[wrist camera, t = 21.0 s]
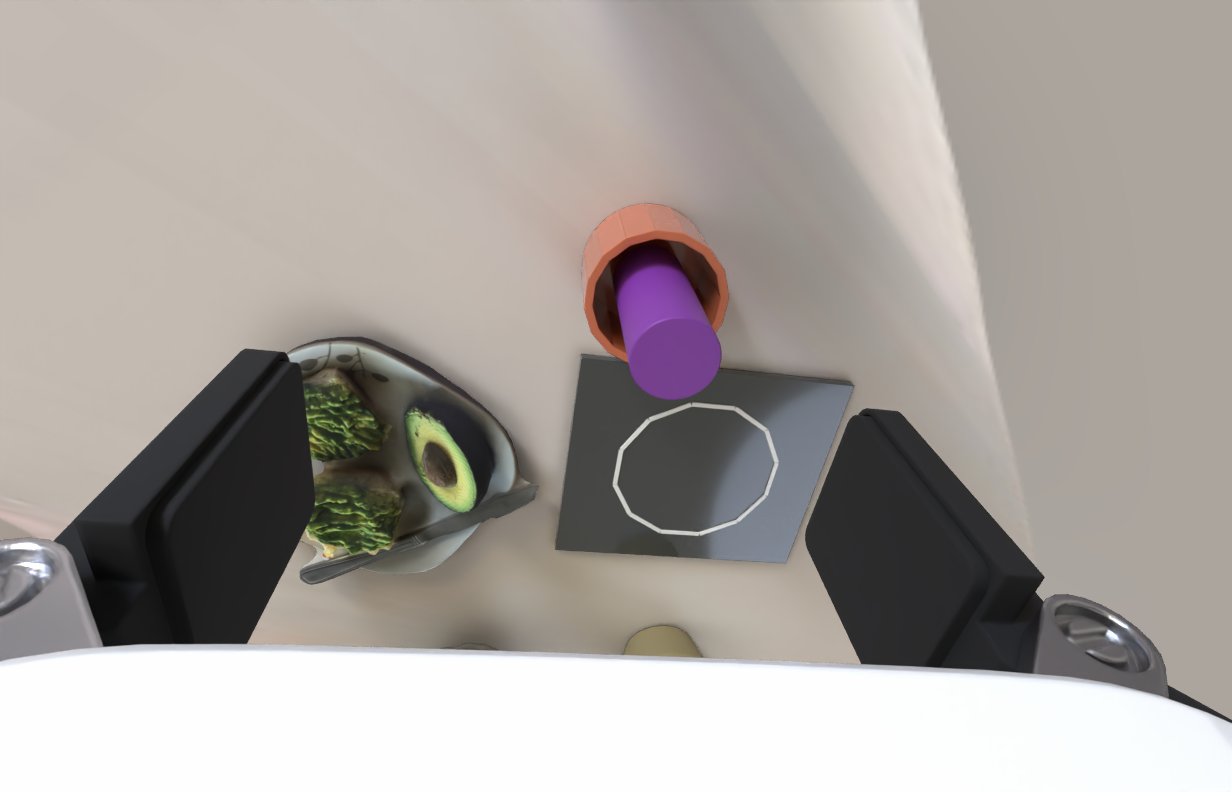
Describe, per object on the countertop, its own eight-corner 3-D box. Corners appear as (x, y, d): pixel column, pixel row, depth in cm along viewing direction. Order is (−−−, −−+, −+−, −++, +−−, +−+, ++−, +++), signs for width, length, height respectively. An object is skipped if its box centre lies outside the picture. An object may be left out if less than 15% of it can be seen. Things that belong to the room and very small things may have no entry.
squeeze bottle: (695, 604, 51) (751, 853, 36) (713, 664, 56) (772, 911, 40) (600, 628, 52) (616, 883, 37) (625, 685, 56) (649, 936, 41)
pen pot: (590, 194, 34) (595, 221, 30) (719, 212, 35) (743, 241, 31) (575, 317, 38) (576, 359, 33) (692, 330, 39) (710, 372, 34)
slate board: (581, 353, 39) (581, 358, 39) (851, 381, 42) (855, 386, 41) (554, 544, 47) (554, 551, 46) (783, 557, 50) (786, 564, 49)
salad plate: (410, 609, 49) (397, 660, 45) (179, 500, 42) (140, 549, 39) (566, 450, 43) (567, 493, 39) (323, 291, 36) (293, 324, 32)
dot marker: (617, 235, 35) (637, 311, 26) (686, 244, 36) (731, 322, 26) (606, 301, 37) (622, 396, 28) (673, 309, 38) (710, 404, 28)
